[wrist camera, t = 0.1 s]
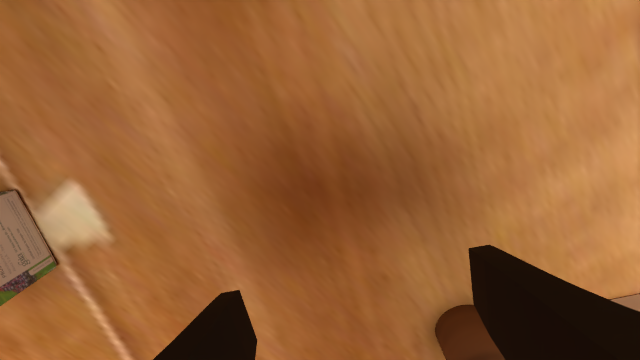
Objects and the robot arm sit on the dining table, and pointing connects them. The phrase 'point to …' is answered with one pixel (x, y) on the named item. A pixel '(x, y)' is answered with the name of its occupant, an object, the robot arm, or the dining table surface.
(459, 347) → the peg
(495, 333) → the robot arm
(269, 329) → the dining table surface
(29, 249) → the syrup box
